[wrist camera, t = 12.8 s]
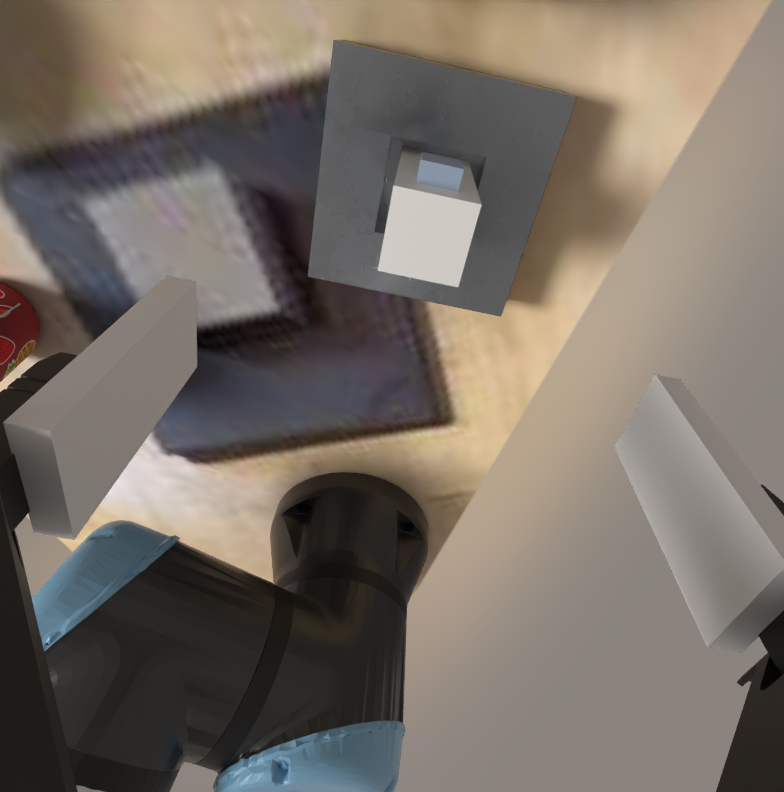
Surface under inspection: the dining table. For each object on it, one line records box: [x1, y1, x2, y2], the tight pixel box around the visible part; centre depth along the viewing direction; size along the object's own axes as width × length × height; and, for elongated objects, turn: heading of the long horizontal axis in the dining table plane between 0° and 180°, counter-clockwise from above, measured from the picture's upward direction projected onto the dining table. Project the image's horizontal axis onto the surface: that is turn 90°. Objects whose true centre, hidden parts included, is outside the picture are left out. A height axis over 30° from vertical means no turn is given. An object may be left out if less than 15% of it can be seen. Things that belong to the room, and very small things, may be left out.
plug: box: [378, 147, 482, 287], centre depth 28 cm, size 5×4×10 cm
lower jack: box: [308, 40, 577, 316], centre depth 32 cm, size 13×13×3 cm
